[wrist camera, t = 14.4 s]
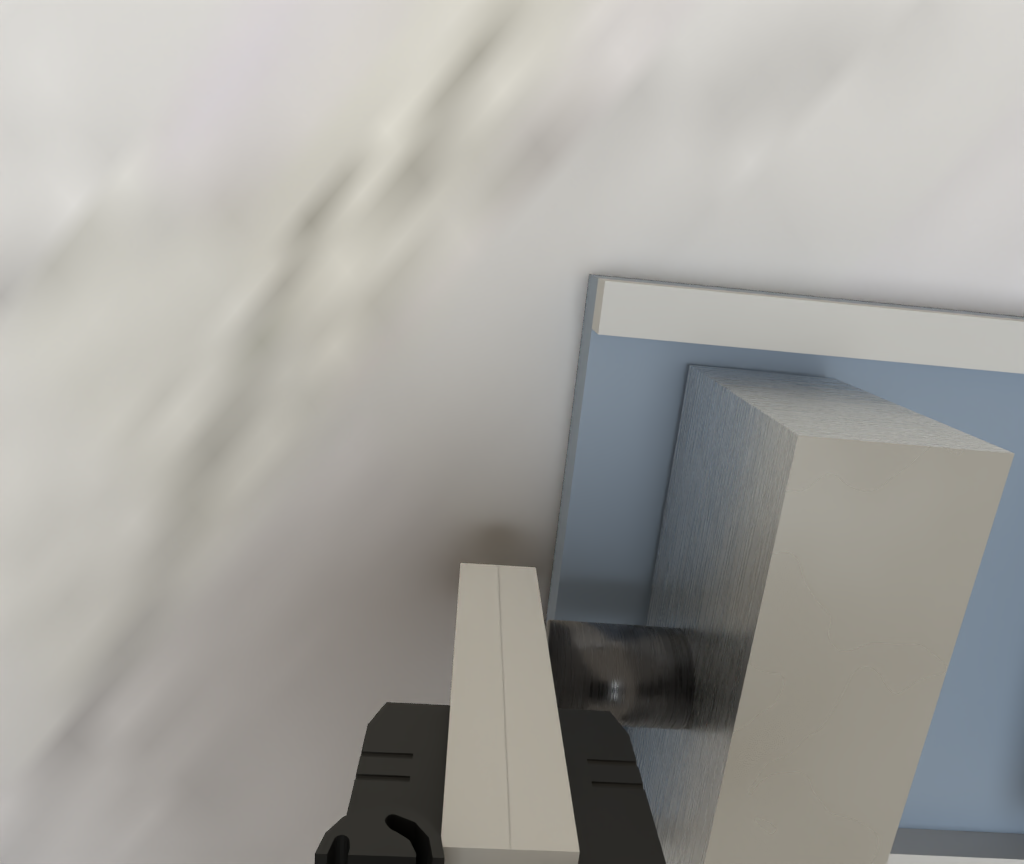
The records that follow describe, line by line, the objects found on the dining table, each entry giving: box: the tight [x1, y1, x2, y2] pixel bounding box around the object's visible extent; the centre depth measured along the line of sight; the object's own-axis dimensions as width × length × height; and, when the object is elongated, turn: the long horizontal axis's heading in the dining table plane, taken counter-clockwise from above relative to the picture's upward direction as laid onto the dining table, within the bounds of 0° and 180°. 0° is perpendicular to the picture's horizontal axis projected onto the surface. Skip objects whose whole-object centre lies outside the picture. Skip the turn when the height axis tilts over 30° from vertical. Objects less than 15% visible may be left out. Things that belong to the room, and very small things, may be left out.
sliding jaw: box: [545, 365, 1015, 864], centre depth 13 cm, size 11×6×5 cm, turn 174°
